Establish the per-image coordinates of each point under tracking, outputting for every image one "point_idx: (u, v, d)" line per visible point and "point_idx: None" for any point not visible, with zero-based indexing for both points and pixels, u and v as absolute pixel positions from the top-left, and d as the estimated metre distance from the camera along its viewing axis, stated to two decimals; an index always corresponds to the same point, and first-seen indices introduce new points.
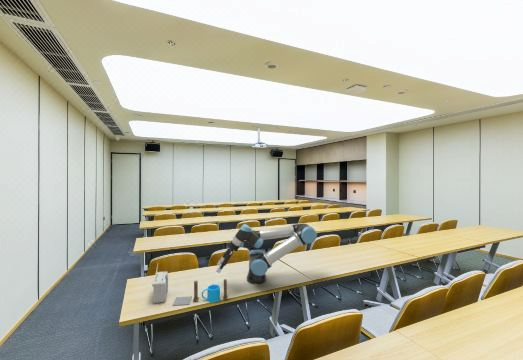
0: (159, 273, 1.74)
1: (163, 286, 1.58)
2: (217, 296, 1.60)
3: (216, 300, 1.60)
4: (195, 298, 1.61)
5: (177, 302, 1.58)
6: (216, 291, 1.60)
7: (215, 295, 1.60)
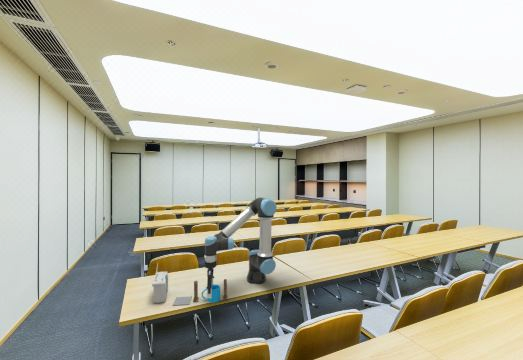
0: (159, 273, 1.74)
1: (163, 286, 1.58)
2: (217, 296, 1.60)
3: (216, 300, 1.60)
4: (195, 298, 1.61)
5: (177, 302, 1.58)
6: (216, 291, 1.60)
7: (215, 295, 1.60)
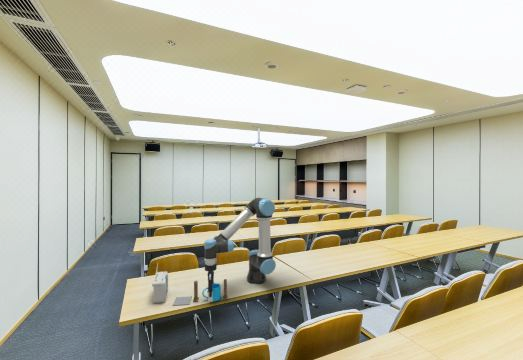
0: (159, 273, 1.74)
1: (163, 286, 1.58)
2: (218, 295, 1.61)
3: (217, 299, 1.60)
4: (195, 298, 1.61)
5: (177, 302, 1.58)
6: (217, 290, 1.60)
7: (216, 294, 1.60)
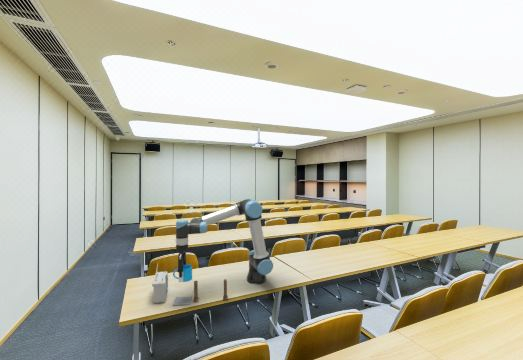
0: (159, 273, 1.74)
1: (163, 286, 1.58)
2: (189, 275, 1.58)
3: (187, 279, 1.57)
4: (195, 298, 1.61)
5: (177, 302, 1.58)
6: (187, 270, 1.57)
7: (186, 274, 1.57)
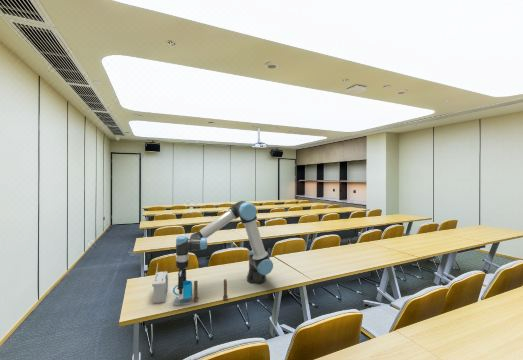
0: (159, 273, 1.74)
1: (163, 286, 1.58)
2: (189, 292, 1.58)
3: (187, 296, 1.58)
4: (195, 298, 1.61)
5: (177, 302, 1.58)
6: (187, 287, 1.58)
7: (186, 291, 1.57)
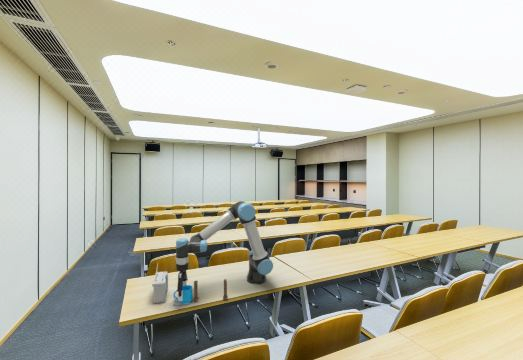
0: (159, 273, 1.74)
1: (163, 286, 1.58)
2: (189, 297, 1.58)
3: (188, 301, 1.58)
4: (195, 298, 1.61)
5: (177, 302, 1.58)
6: (188, 292, 1.58)
7: (187, 296, 1.57)
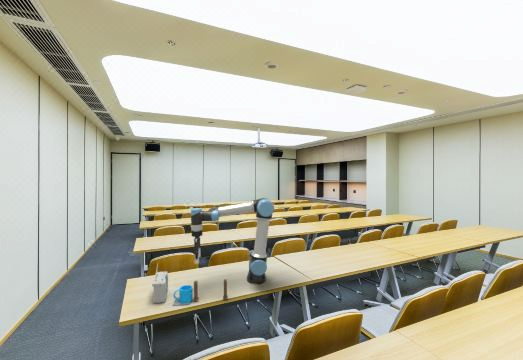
0: (159, 273, 1.74)
1: (163, 286, 1.58)
2: (189, 297, 1.58)
3: (188, 301, 1.58)
4: (195, 298, 1.61)
5: (177, 302, 1.58)
6: (188, 292, 1.58)
7: (187, 296, 1.57)
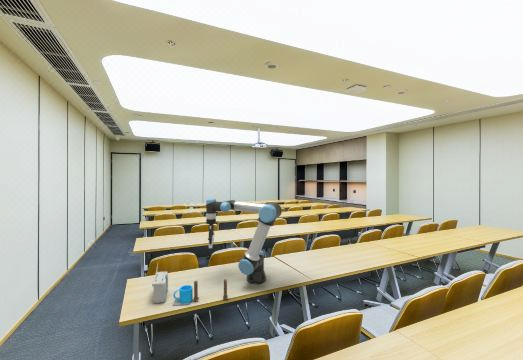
0: (159, 273, 1.74)
1: (163, 286, 1.58)
2: (189, 297, 1.58)
3: (188, 301, 1.58)
4: (195, 298, 1.61)
5: (177, 302, 1.58)
6: (188, 292, 1.58)
7: (187, 296, 1.57)
